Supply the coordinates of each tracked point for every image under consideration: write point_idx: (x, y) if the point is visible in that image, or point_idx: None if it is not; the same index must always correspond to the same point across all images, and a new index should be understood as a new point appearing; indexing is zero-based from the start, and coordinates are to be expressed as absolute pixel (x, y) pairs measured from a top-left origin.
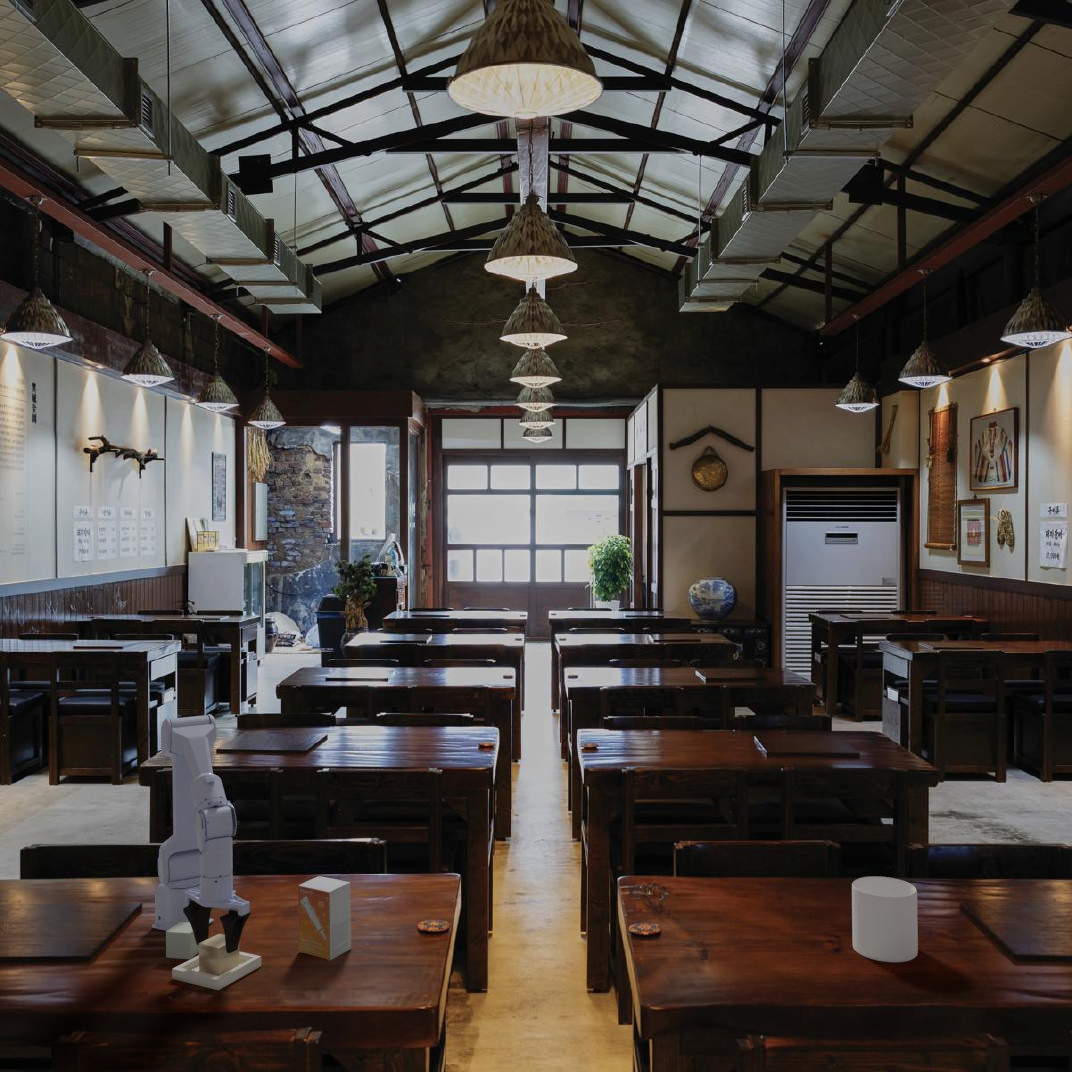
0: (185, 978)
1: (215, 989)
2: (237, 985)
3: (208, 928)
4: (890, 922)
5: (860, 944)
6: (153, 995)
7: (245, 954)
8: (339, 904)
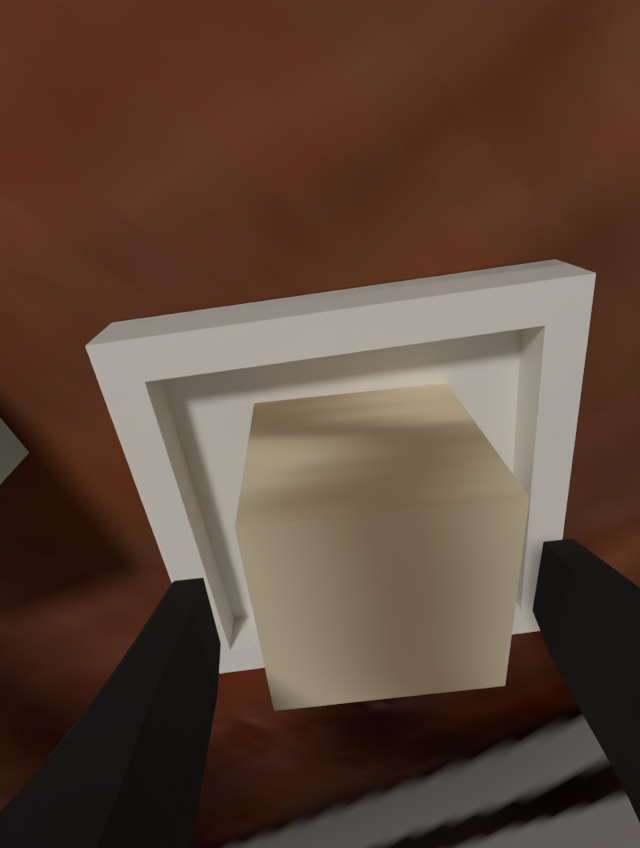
0: None
1: None
2: (583, 511)
3: (168, 662)
4: None
5: None
6: (296, 725)
7: (446, 324)
8: None
